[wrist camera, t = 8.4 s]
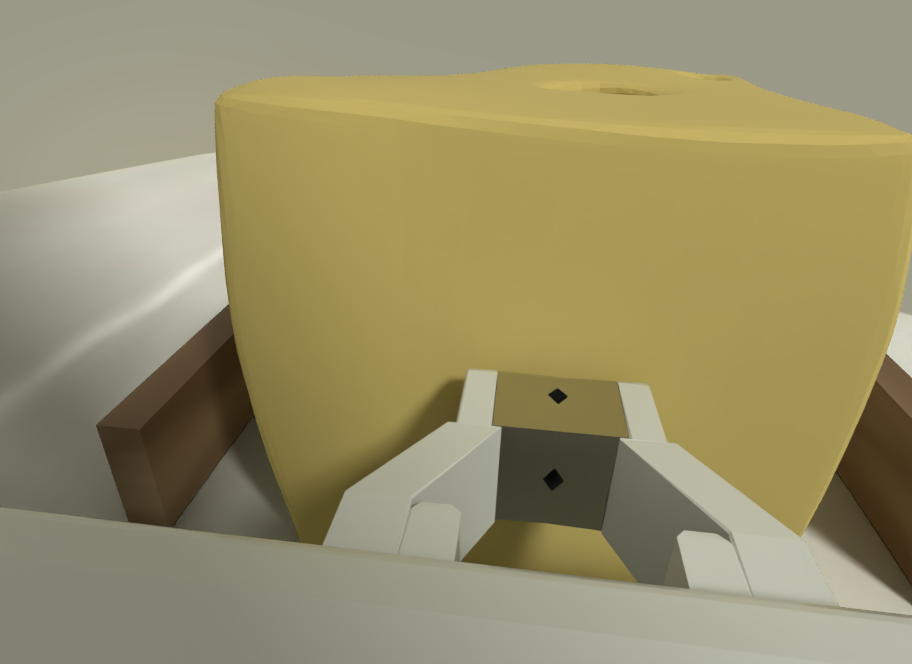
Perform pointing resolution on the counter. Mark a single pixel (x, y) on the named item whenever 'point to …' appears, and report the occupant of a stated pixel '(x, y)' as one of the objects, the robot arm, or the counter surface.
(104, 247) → the counter surface
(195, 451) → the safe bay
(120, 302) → the counter surface
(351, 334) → the cheese
